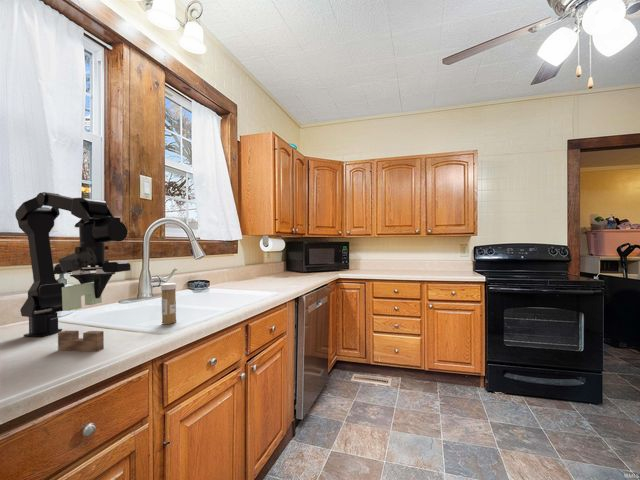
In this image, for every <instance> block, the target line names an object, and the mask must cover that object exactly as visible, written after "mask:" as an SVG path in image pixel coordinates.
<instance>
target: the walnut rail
mask: <svg viewBox="0 0 640 480" xmlns="http://www.w3.org/2000/svg"><path fill="white" fill-rule="evenodd" d="M79 331H80V330H65V329H64V330H62V331H59V332H57V351H71V352H72V351H75V352H76V351H77V352H79V351H80V352H99V351H101V350H103V349H104V347H105V346H104V345H105V343H104V340H105V339H104V337H105V336H104V330H89V331H86V332H83V333H82V338H81V337H80V333H79Z"/></svg>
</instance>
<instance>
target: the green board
mask: <svg viewBox="0 0 640 480" xmlns="http://www.w3.org/2000/svg"><path fill="white" fill-rule="evenodd" d="M82 296H84V306H93V305H97V304H101V303H103V302H102V301H103V300H102V295H101V296H100V298H95V289H94V282H90V283H84V284H80V283H79V284H73V285H68V286H66V285H65V287H62V307H63V311H62V312H66V311H67V312H69V311H74V310H79V309H81V308H82Z"/></svg>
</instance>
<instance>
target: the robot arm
mask: <svg viewBox="0 0 640 480" xmlns="http://www.w3.org/2000/svg"><path fill="white" fill-rule="evenodd" d="M107 204H108V203H107V201H106V200H103V199H97V198H96V199H95V198H88V197H70V196H65V195H61V194H59V193H55V192H46V191H44V192H39V193H38V194H37V195H36V196H35V197H32V198H31V199H28V200H26V201H23V202H22V204H21V205H20V206H19V207H18V208H17V209H16V211H15V219H16V220H17V224H18V227H19V229H20V230H21V231H22V232H23V234H24V233H25V235H26V236H27V242H28V248H29V256H30V262H31V264H30V265H31V272H32V279H33V283H32V284H31V286H30V287H29V289H28V290H27V298H26V300H25V301H24V303H23V304H22V306H21V308H20V309H19V310H20V314H21V316H22V317H25V318H28V333H24V334H23V337H36V338H40V337H42V338H43V337H45V336H48V335H52V334H56V333H59V332H62V331H63V328H59V317H58V312H64V311H63V307H62V287H66V285H65V283H64V282H59V281H58V280H57V279H56V275H65V274H67V273H71V274H69V276H70V277H71V278H74V279H75V280H78V282H79V284H84V283H90V282H94V289H95V298H100V296H101V297H102V294H103V292H104V290H105V288H106V286H107V284H108V283H109V281H110V280H111V279H112V276H113V275H115V274H116V273H121V272H122V273H123V272H129V271H132V270H131V264H130V262H129V261H128V260H124V261H123V260H122V261H117V260H116V261H109V259H106V250H109V245H106V243H115V242H116V243H117V242H122V241H124V240H125V239H126V238H127V237H128V233H129V232H128V227H127V226H126V224H125V223H123V222H122V221H121V217H120V216H115V215H114V214H113V212H112V210H111V209H110V206H109V205H107ZM43 206H45V207H43ZM46 206H47V207H46ZM60 210H64V211H67V212H70V214H71V215H72V216H74V217H76V218H78V219H79V221H78V222H76V223H75V224H74V228H78V229H79V232H78V234H79V235H78V237H79V246H75V248H74V253H72V254H68V255H65V256H64V257H61V258H60V259H59V258H58V260H57V262H58V263H56V264H55V265H54V260H53V255H52V254H53V253H52V246H51V240H50V239H51V238H50V233H51V231H52V230H53V228H54V227H55V220H56V219H57V218H58V217H59V216H60ZM91 271H92V272H91ZM93 271H95V272H93Z"/></svg>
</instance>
